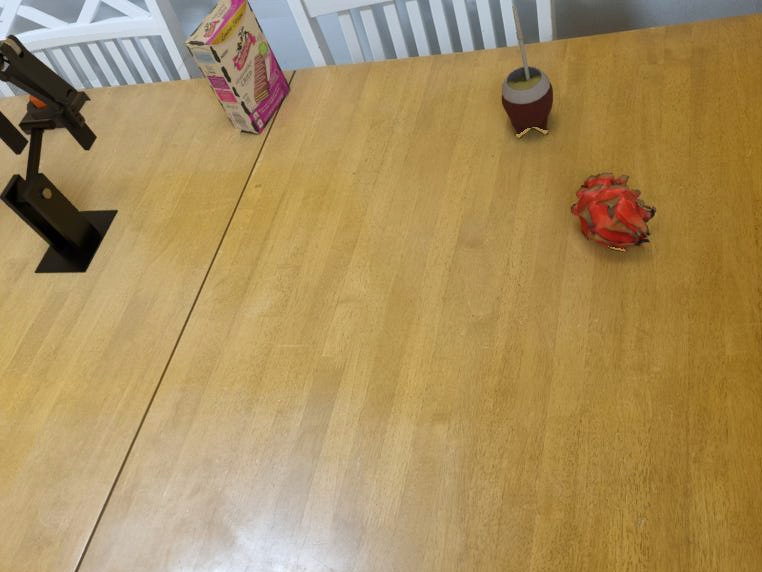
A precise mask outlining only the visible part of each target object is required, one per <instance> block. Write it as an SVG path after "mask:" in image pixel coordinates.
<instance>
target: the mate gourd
mask: <svg viewBox="0 0 762 572" xmlns="http://www.w3.org/2000/svg"><path fill="white" fill-rule="evenodd" d="M511 8H512V13H513V14H512V15H513V19H514V23H515V28H516V32H515V34H516V38H517V39H516V40H518V45H519V50H520V55H521V59H522V60H521V61H522V65H523V66H519V67H518V68H516V69H513V70H512V71H511V72H509V73H508V74H507V76H506V77H505V78H504V81H503V82H502V85H501V103H502V108H503V110H504V111H505V112H506V115H507V116H508V119H509V120H510V122H511V125H512V127H513V128H514V130H515V132H516V133H517V134H520V133H521V132H523V131H524V130H525V129H527V128H532V127H538V128H540V129H543V130H547V129H548V120H549V119H548V117H549V116H550V113H551V111H552V108H553V104H554V89H553V85H552V82H551V81H550V78H549V77H548V75H547V74H546V73H545V72H544V71H543V70H542V69H540V68H538V67H536V66H529V65H528V64H529V63H528V60H527V54H526V49H525V44H524V34H523V30H522V28H521V23H520V17H519V13H518V7H517V5H512V6H511Z"/></svg>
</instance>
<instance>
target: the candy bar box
mask: <svg viewBox="0 0 762 572" xmlns="http://www.w3.org/2000/svg"><path fill="white" fill-rule="evenodd" d="M184 45H185V46H186V48H187V50H188V51H189V53H190V55H191V56H192V58H193V60H194V61H195V63H196V65H197V67H198V68H199V70H200V72H201V74H202V76H203V78H205V80H206V82H207V83H208V85H209V87H210V89H211V90H212V92H213V94H214V95H215V97H216V99H217V101H218V102H219V104H220V106H221V107H222V109H223V111H224V112H225V114H226V116H227V117H228V119H229V121H230V123H231V124H232V126H233V128H234V129H240V133H245V134H246V133H247V134H254V135H261V133H262V131H263V130H264V129H265V127H266V125H267V124H268V123H269V121H270V120H271V118H272V117H273V115H274V114H275V112H276V111H277V109H279V107H280V105H281V103H282V102H283V101H284V99H285V98H286V96H287V95H288V94H289V92H290V91H289V89H290V90H291V87H290V84H289V83H288V81H287V78H286V77H285V74H284V72H283V70H282V69H281V66H280V64H279V62H278V59H277V58H276V56H275V53H274V51H273V50H272V48H271V46H270V44H269V42H268V39H267V37H266V35H265V33H264V31H263V29H262V27H261V25H260V22H259V21H258V19H257V17H256V14H255V12H254V10H253V8H252V6H251V4H250V2H249V0H219V1H218V2H217V3H216V5H215V6H214V7H213V8H212V9H211V11H210V12H209V13H207V15H206V17H204V19H203V20H202V21H201V22H200V23H199V25H198V26H197V27H196V29H194V31H193V32H192V33H191V34H190V35H189V37H188V38H187V39H186V40H185V41H184ZM288 91H289V92H288ZM287 93H288V94H287ZM286 94H287V95H286ZM284 97H285V98H284Z"/></svg>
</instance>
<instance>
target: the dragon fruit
mask: <svg viewBox="0 0 762 572" xmlns="http://www.w3.org/2000/svg"><path fill="white" fill-rule="evenodd" d="M629 179H630V176H629V175H628V174H625V173H624V174H620V176H619V177H618V178H615V175H614V174H613V173H612V172H602V173H598V174H596V175H592V174H591V175H590V176H588V177H586V179H585V180H583V184H582V185H580V187H579V189H578V190H576V192H575V196H576V197H577V198H578V201H577V202H576V203H573V204H572V205H571V206H570V211H571V214H572V215H574V216H575V217H578V219H579V223H580V232H581V234H582V235H583V237H584V238H585V239H586V240H587V241H591V240H594V241H595V243H598V244H599V245H602V246H604V245H605V246H609V247H615V248H621V249H623V248H625V249H626V248H628V247H629V248H630V247H636V246H638V247H639V248H641V247H643V245H644V244H645V243H646V244H647V243H651V241H650V239H649V238H648V236H652V233H650V230H649V229H650V228H649V225H648V224H647V223H649V221H650V220H652V219H653V218H654V217H655V215H656V213H657V207H656V206H654V205H652V207H651V206H650V205H646V203H645V201H644V200H642V199H639V197H640V196H641V194H642V191H641V190H639V189H638V188H637V189H631V188H629V186H628V181H629ZM589 239H590V240H589ZM605 246H604V247H605ZM609 247H608V248H609Z"/></svg>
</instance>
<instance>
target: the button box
mask: <svg viewBox="0 0 762 572" xmlns="http://www.w3.org/2000/svg"><path fill="white" fill-rule="evenodd" d="M78 92H79V95H78V96H77V98H76V100H75V101H74V103H73V105H74V106H75V107H76V108H77V110H78V111H79V112H80V111H81V109H82V108H83V106H84V105H85V103H86V102H91V101H92V99H91V98H90V97H89V95H88V94H87V93H86V92H85V91H84V90H82V91H78ZM55 100H56V101H58V100H57V99H55ZM55 111H56V110H55V109H53V108H52V107H50V106H48V105H47V106H44V107H42V108H37V107H36V106H35V105H34V104H33V103H32V102H31V100H30V99H29V100H28V102H27V104H26V113H25V114H24V116H23V117H22V119H21V120H20V122H21V121H31V120H44V119H53V120H54V121H55V122H56V129H66V128H65V127H64V126H63V124H62V123H61V122H60V121H59V120H58V119H57V118H56V116H55V115H54V113H55ZM20 122H19V124H18V125H17V126H18V128H20ZM56 129H55V130H56ZM45 131H46V130H43V134H44V133H45ZM23 133H24V134H26V136H31V131H29V132H24V131H23Z"/></svg>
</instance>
